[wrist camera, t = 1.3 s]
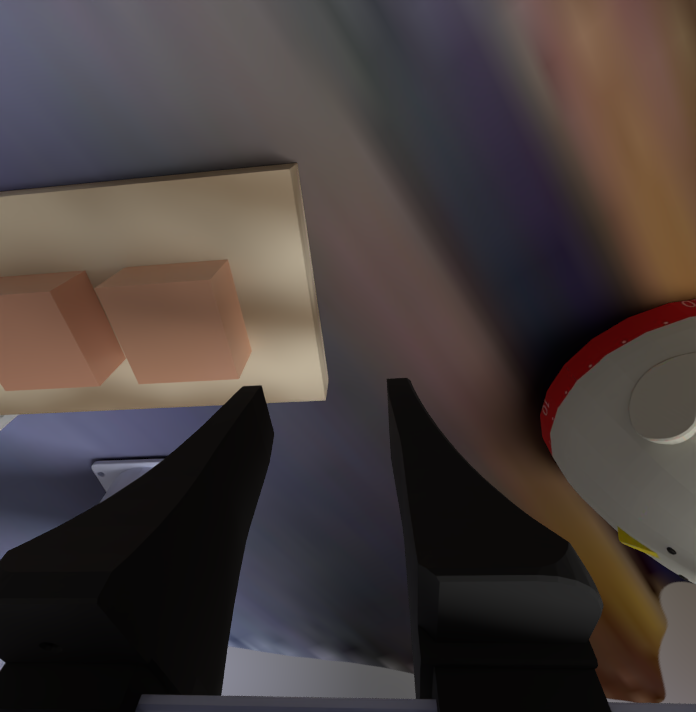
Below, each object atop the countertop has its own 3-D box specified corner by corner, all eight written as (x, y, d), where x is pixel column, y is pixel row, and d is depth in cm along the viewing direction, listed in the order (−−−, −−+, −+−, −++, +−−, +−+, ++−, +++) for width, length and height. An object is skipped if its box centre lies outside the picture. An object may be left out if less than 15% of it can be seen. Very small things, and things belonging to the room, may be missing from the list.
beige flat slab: (328, 379, 24) (325, 400, 22) (24, 394, 26) (0, 415, 24) (296, 162, 18) (289, 169, 16) (-104, 201, 19) (-149, 211, 18)
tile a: (251, 351, 21) (239, 379, 19) (161, 356, 21) (138, 384, 19) (227, 259, 18) (209, 279, 16) (125, 267, 19) (94, 288, 17)
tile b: (126, 358, 21) (100, 386, 19) (40, 363, 22) (5, 391, 20) (84, 270, 19) (49, 291, 17) (-12, 277, 19) (-59, 299, 17)
